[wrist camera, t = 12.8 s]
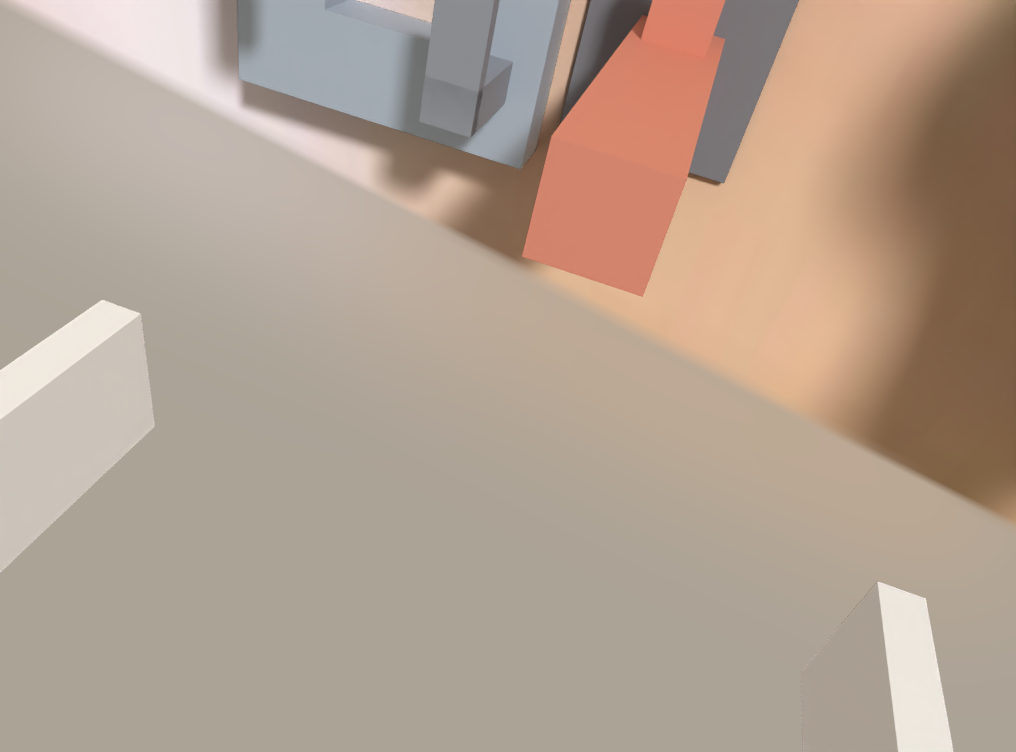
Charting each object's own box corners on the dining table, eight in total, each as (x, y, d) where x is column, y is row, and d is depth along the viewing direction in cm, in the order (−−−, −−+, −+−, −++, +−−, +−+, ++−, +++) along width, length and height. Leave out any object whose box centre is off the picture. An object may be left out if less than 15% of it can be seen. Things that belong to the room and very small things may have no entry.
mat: (800, -6, 34) (800, -5, 33) (724, 180, 39) (723, 183, 39) (607, -61, 35) (605, -60, 34) (559, 129, 40) (558, 131, 40)
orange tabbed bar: (669, -77, 33) (586, -8, 19) (758, -53, 33) (739, 37, 19) (597, 169, 40) (499, 350, 26) (669, 192, 40) (608, 387, 26)
